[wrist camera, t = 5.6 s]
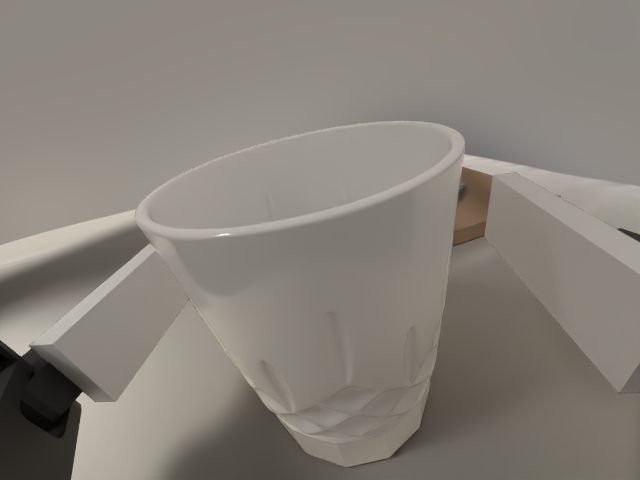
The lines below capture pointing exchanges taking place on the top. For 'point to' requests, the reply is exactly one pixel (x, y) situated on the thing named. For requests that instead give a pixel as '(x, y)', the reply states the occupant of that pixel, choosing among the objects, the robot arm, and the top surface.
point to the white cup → (322, 273)
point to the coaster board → (472, 205)
